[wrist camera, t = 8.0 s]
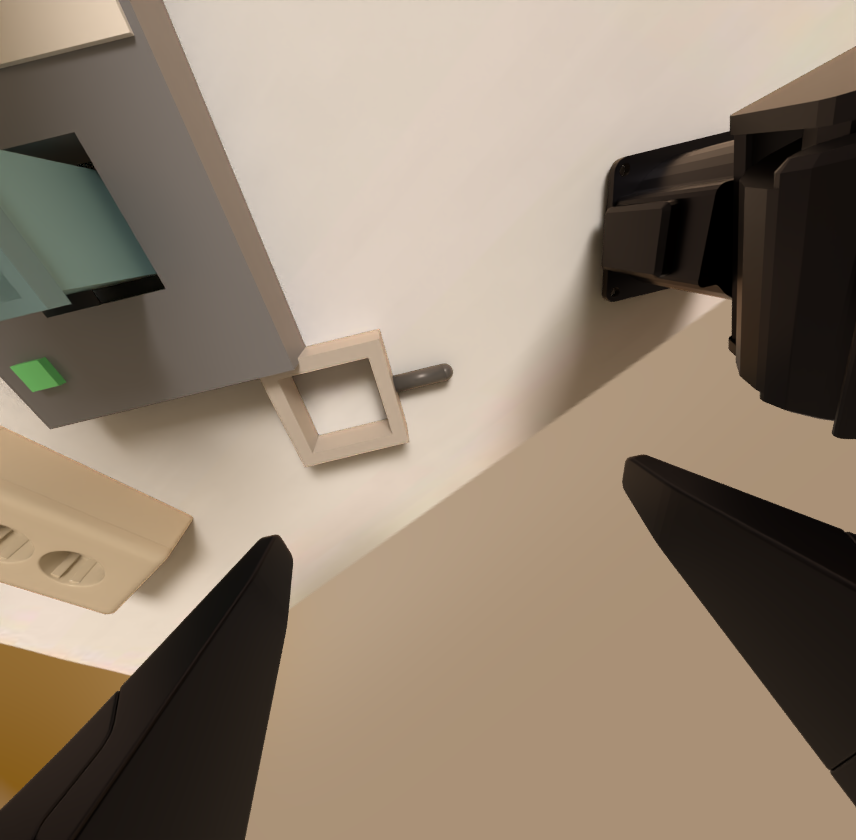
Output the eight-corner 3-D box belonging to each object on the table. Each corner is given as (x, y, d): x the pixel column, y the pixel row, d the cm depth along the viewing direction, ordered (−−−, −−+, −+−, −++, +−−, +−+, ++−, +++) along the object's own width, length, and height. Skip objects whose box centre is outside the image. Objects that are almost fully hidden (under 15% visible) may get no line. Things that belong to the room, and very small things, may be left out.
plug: (133, 163, 14) (-120, 94, 7) (193, 275, 16) (48, 309, 9) (31, 188, 14) (-324, 145, 7) (104, 297, 16) (-107, 347, 9)
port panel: (146, -39, 11) (62, -135, 8) (306, 350, 18) (292, 372, 15) (-196, 45, 11) (-398, -20, 8) (97, 401, 18) (42, 433, 15)
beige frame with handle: (441, 313, 18) (447, 322, 16) (459, 412, 21) (466, 428, 20) (266, 356, 18) (254, 369, 16) (311, 448, 21) (305, 467, 20)
